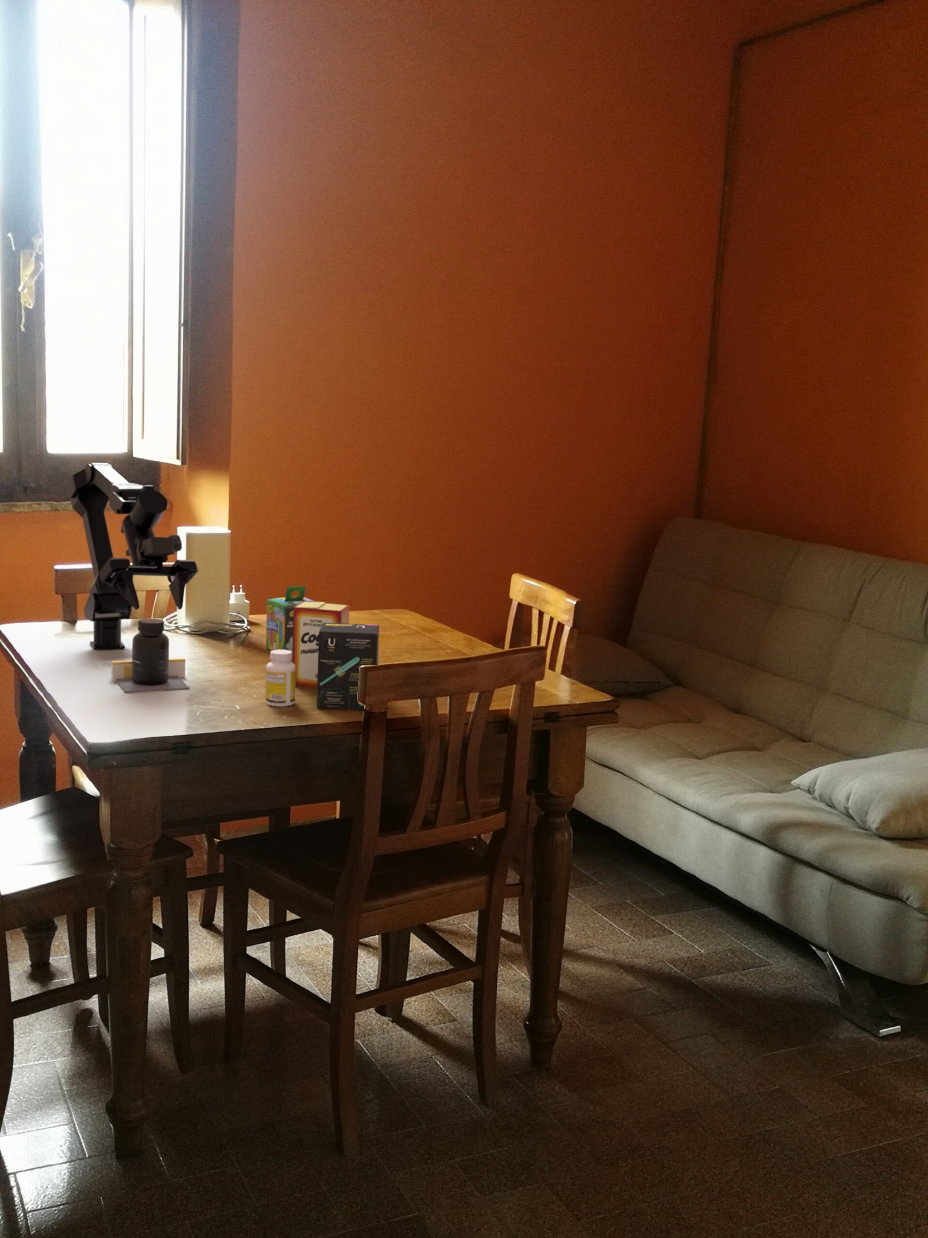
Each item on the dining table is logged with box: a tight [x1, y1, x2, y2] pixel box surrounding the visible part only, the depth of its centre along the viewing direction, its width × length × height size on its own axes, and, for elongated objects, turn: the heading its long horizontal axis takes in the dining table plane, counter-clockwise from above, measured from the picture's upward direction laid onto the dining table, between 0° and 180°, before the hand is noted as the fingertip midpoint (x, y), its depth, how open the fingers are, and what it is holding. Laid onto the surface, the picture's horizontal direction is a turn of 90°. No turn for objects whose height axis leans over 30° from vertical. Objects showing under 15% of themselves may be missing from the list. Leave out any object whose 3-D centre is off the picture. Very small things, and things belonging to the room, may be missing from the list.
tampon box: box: [316, 623, 380, 711], centre depth 219 cm, size 11×9×15 cm
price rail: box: [111, 657, 186, 681], centre depth 232 cm, size 2×14×4 cm, turn 116°
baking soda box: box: [291, 601, 350, 689], centre depth 233 cm, size 10×6×16 cm
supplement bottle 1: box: [131, 618, 170, 686], centre depth 226 cm, size 7×7×12 cm
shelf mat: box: [115, 676, 190, 694], centre depth 226 cm, size 10×12×1 cm
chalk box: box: [265, 585, 317, 651], centre depth 262 cm, size 9×9×15 cm
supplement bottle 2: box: [265, 650, 296, 708], centre depth 217 cm, size 5×5×10 cm
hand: (159, 608), depth 232 cm, fingers open, 9 cm apart
